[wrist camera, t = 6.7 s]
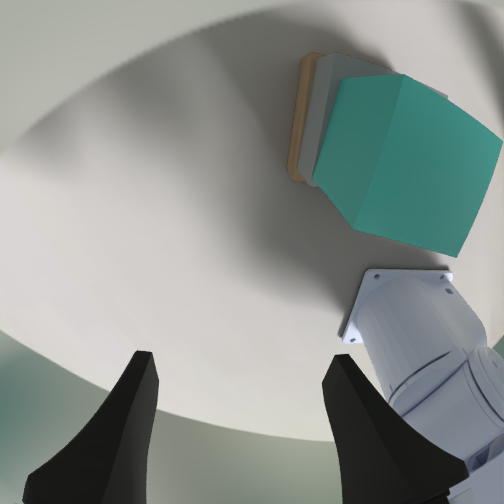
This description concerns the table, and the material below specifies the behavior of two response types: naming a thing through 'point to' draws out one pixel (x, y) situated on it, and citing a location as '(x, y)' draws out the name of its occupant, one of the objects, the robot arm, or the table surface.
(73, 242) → the table surface
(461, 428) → the robot arm
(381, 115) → the teal block
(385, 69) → the slate slab
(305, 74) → the walnut slab
